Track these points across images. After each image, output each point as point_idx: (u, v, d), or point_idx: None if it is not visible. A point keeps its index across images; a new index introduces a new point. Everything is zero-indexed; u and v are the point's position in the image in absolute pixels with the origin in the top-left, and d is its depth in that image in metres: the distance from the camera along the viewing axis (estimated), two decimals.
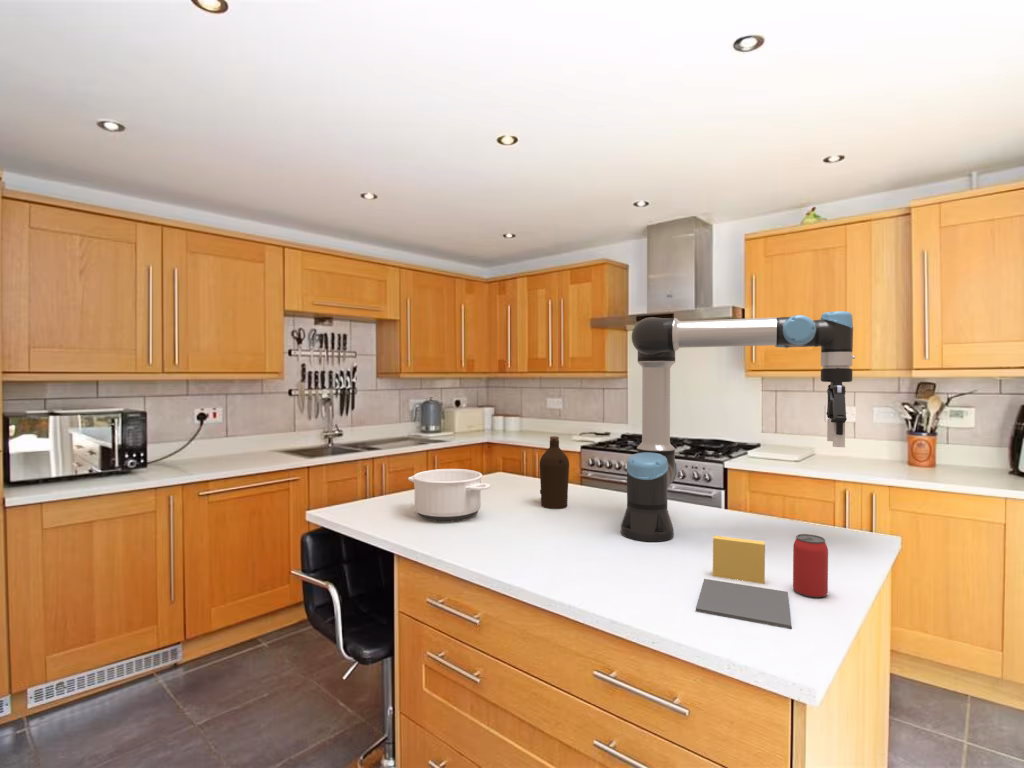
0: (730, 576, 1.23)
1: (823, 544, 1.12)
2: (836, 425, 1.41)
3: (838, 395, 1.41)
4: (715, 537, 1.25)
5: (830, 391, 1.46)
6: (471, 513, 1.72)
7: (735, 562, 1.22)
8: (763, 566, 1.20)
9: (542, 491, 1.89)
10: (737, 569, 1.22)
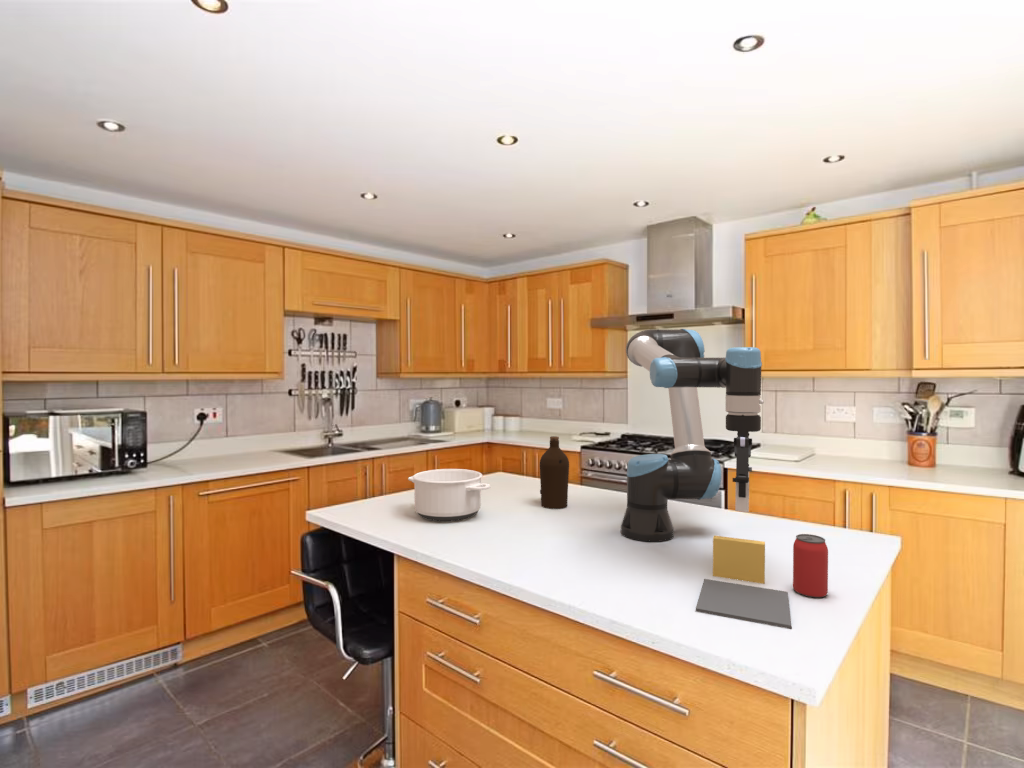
0: (730, 576, 1.23)
1: (823, 544, 1.12)
2: (738, 485, 1.17)
3: (741, 449, 1.17)
4: (715, 537, 1.25)
5: (735, 442, 1.22)
6: (471, 513, 1.72)
7: (735, 562, 1.22)
8: (763, 566, 1.20)
9: (542, 491, 1.89)
10: (737, 569, 1.22)
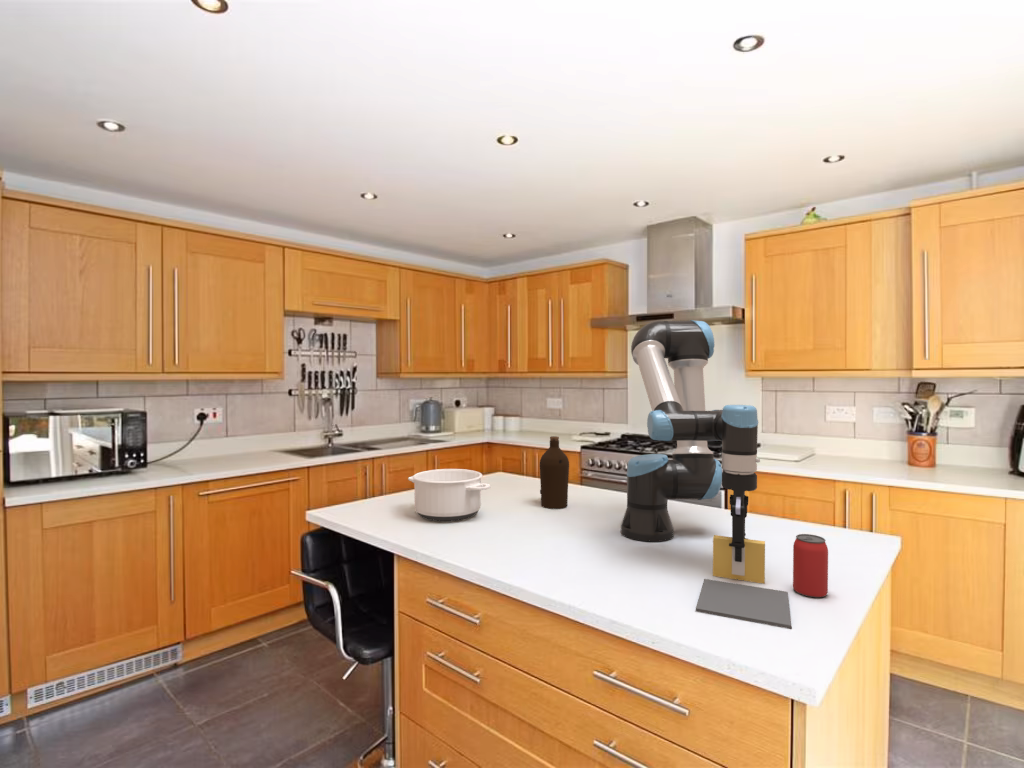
0: (730, 576, 1.23)
1: (823, 544, 1.12)
2: (735, 549, 1.21)
3: (736, 518, 1.18)
4: (715, 537, 1.25)
5: (731, 502, 1.22)
6: (471, 513, 1.72)
7: None
8: (763, 566, 1.20)
9: (542, 491, 1.89)
10: None
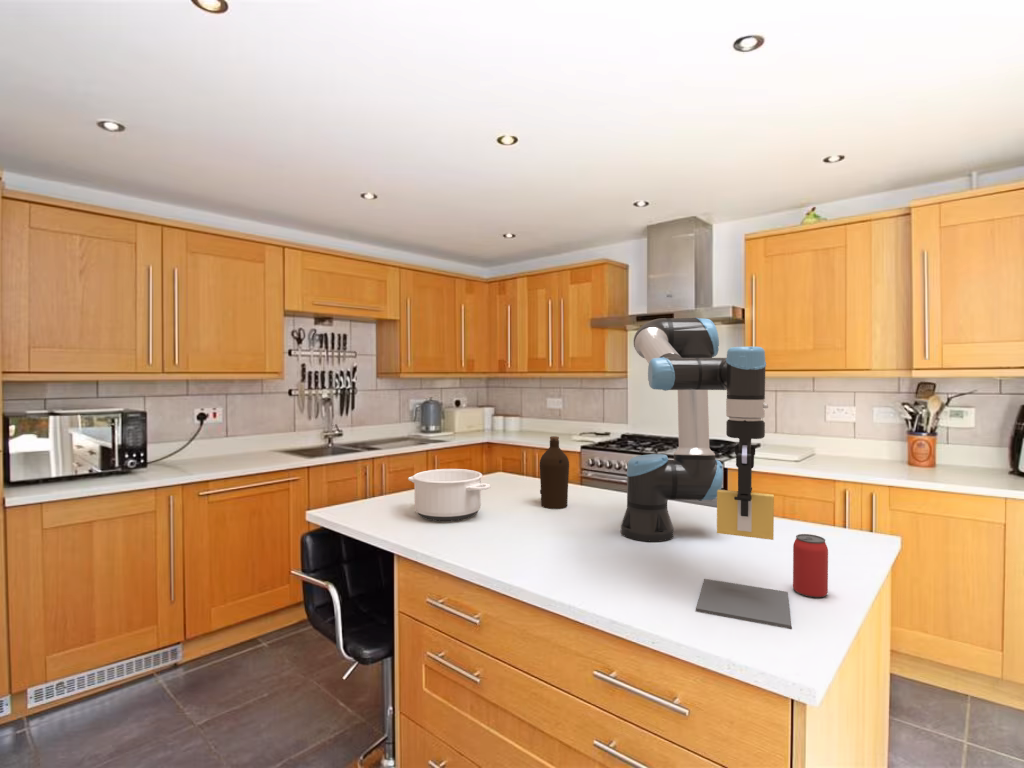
0: (736, 532, 1.13)
1: (823, 544, 1.12)
2: (740, 503, 1.11)
3: (742, 467, 1.08)
4: (719, 491, 1.15)
5: (736, 452, 1.12)
6: (471, 513, 1.72)
7: None
8: (772, 520, 1.10)
9: (542, 491, 1.89)
10: None
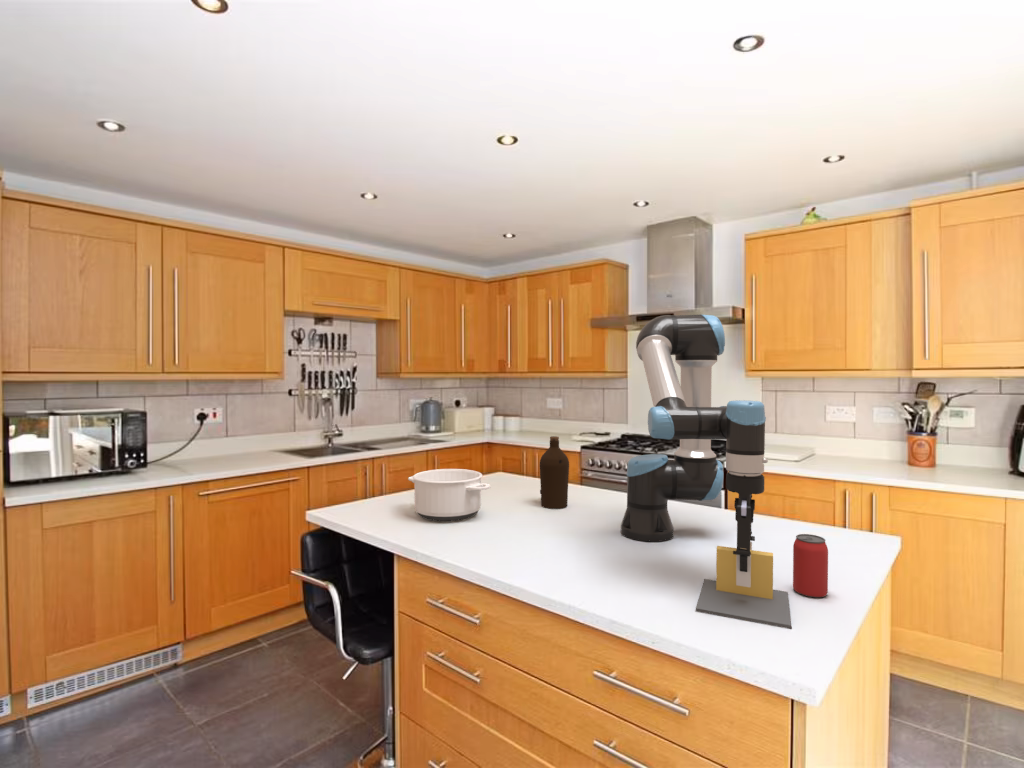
0: (735, 590, 1.13)
1: (823, 544, 1.12)
2: (739, 558, 1.09)
3: (742, 519, 1.07)
4: (719, 548, 1.15)
5: (736, 505, 1.12)
6: (471, 513, 1.72)
7: None
8: (771, 580, 1.10)
9: (542, 491, 1.89)
10: None
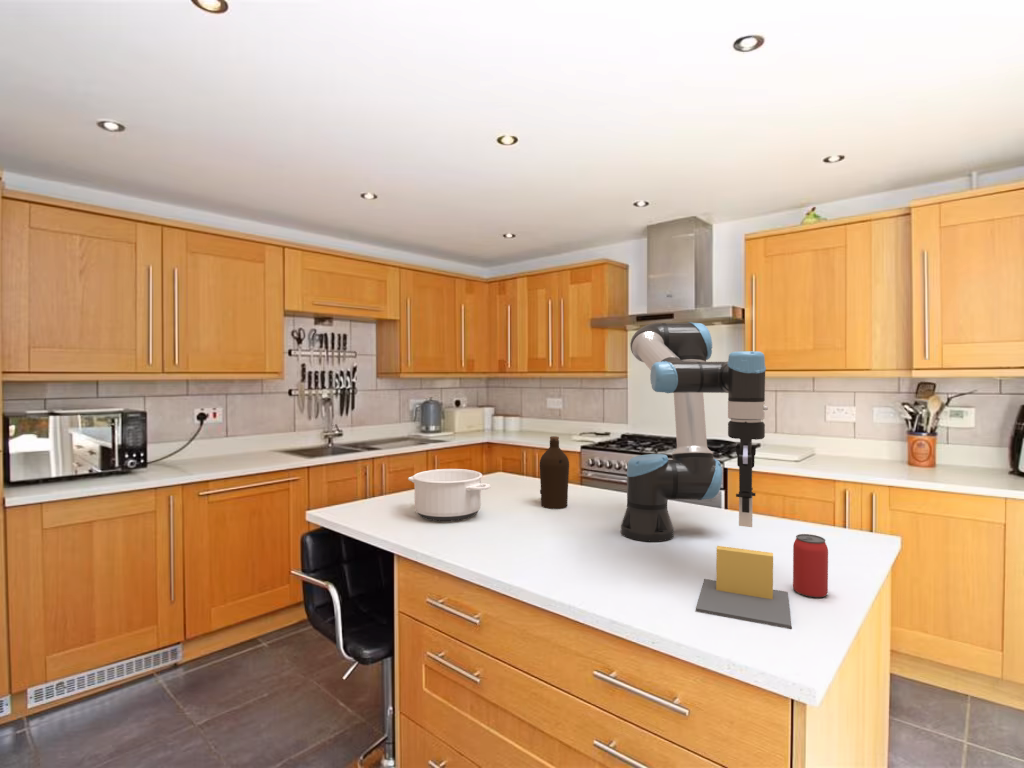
0: (735, 590, 1.13)
1: (823, 544, 1.12)
2: (742, 500, 1.18)
3: (743, 467, 1.14)
4: (719, 548, 1.15)
5: (738, 452, 1.17)
6: (471, 513, 1.72)
7: (740, 575, 1.13)
8: (771, 580, 1.10)
9: (542, 491, 1.89)
10: (743, 583, 1.12)
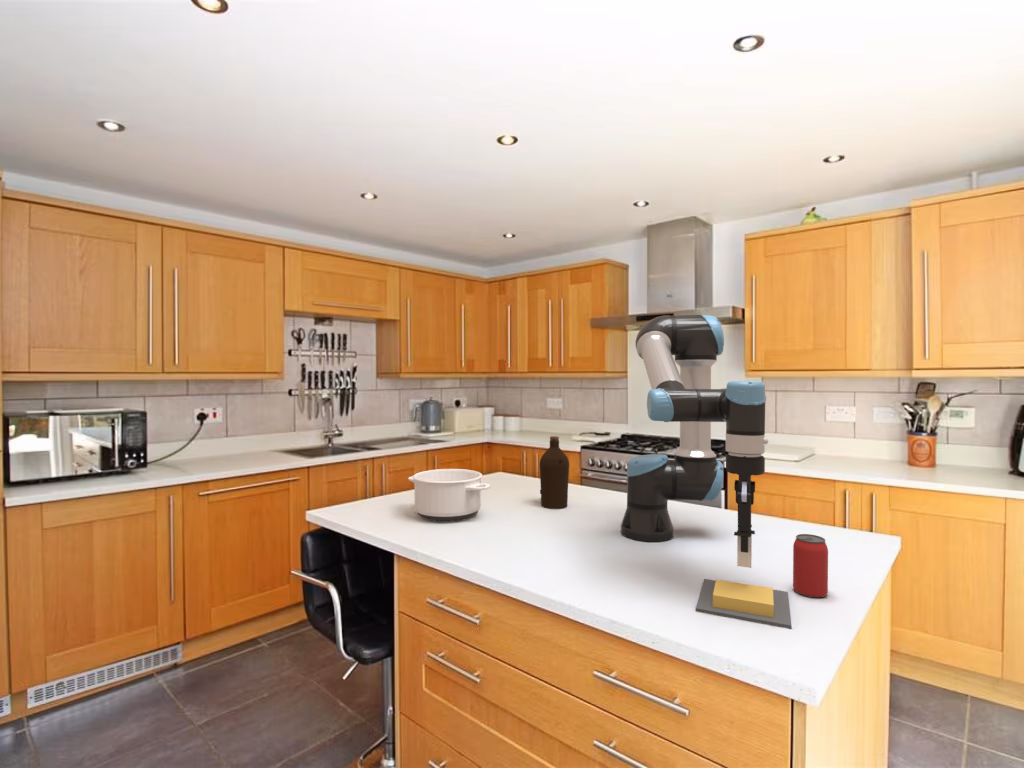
0: None
1: (823, 544, 1.12)
2: (740, 539, 1.11)
3: (742, 505, 1.07)
4: (715, 602, 1.06)
5: (736, 488, 1.10)
6: (471, 513, 1.72)
7: None
8: None
9: (542, 491, 1.89)
10: None
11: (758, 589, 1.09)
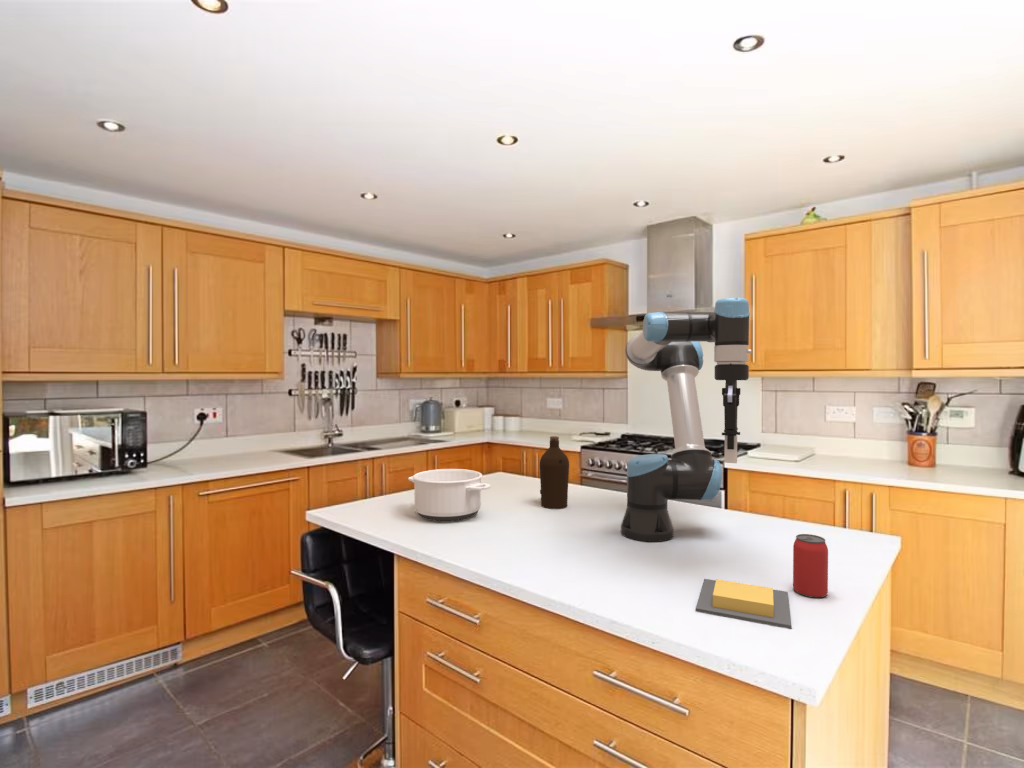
0: None
1: (823, 544, 1.12)
2: None
3: (728, 405, 1.21)
4: (715, 602, 1.06)
5: (723, 393, 1.25)
6: (471, 513, 1.72)
7: None
8: None
9: (542, 491, 1.89)
10: None
11: (758, 589, 1.09)
